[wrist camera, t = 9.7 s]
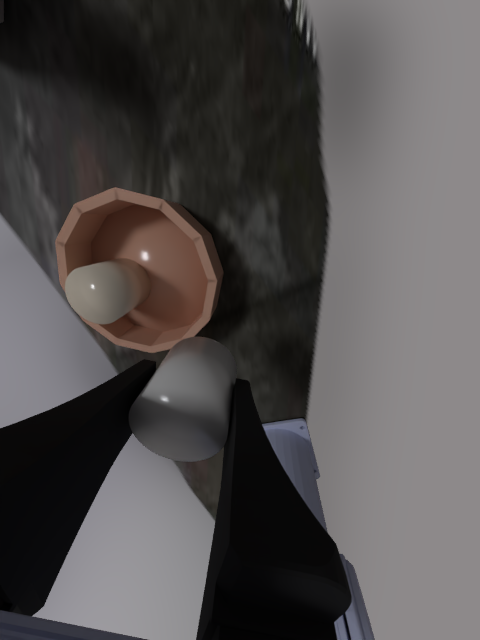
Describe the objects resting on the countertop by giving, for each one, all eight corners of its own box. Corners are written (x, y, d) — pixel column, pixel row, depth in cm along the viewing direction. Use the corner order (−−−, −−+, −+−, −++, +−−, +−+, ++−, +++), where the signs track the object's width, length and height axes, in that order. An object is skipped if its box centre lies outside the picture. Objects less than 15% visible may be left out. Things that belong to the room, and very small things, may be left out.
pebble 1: (158, 298, 19) (134, 316, 15) (118, 310, 19) (85, 329, 16) (137, 251, 17) (104, 258, 14) (94, 265, 18) (53, 276, 14)
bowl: (238, 317, 19) (235, 333, 16) (128, 345, 21) (109, 363, 19) (190, 173, 15) (175, 161, 12) (61, 225, 17) (23, 224, 15)
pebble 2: (231, 401, 13) (220, 468, 10) (165, 388, 13) (130, 451, 10) (242, 344, 12) (235, 400, 8) (168, 330, 12) (126, 379, 8)
